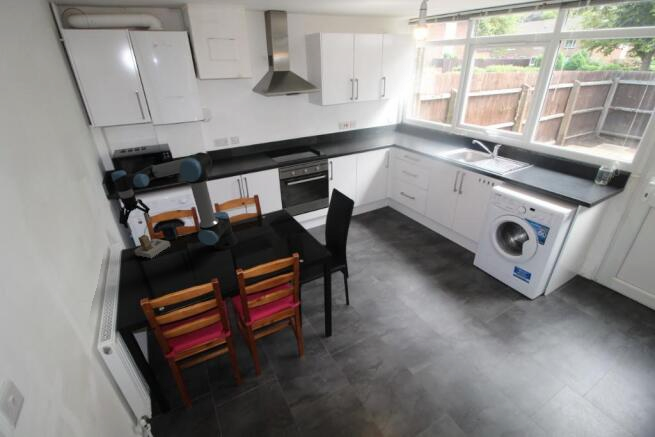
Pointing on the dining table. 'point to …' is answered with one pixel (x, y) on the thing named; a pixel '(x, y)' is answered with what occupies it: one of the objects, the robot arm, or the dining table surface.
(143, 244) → the peg
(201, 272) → the dining table surface
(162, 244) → the socket block
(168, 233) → the box
